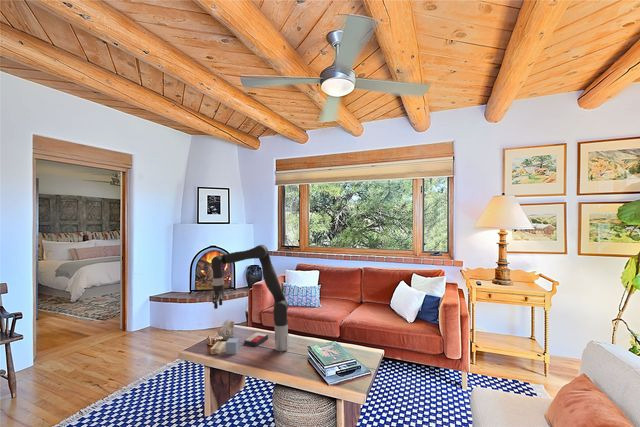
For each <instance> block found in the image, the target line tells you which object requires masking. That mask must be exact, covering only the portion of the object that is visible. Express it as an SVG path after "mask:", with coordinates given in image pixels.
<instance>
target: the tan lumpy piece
mask: <svg viewBox="0 0 640 427" xmlns="http://www.w3.org/2000/svg"><path fill="white" fill-rule="evenodd" d="M226 342H227V341H216V343H214V345H212V347H210V354H211V355H220V354H221V353H222V352H223V350H224V349H226Z"/></svg>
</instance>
